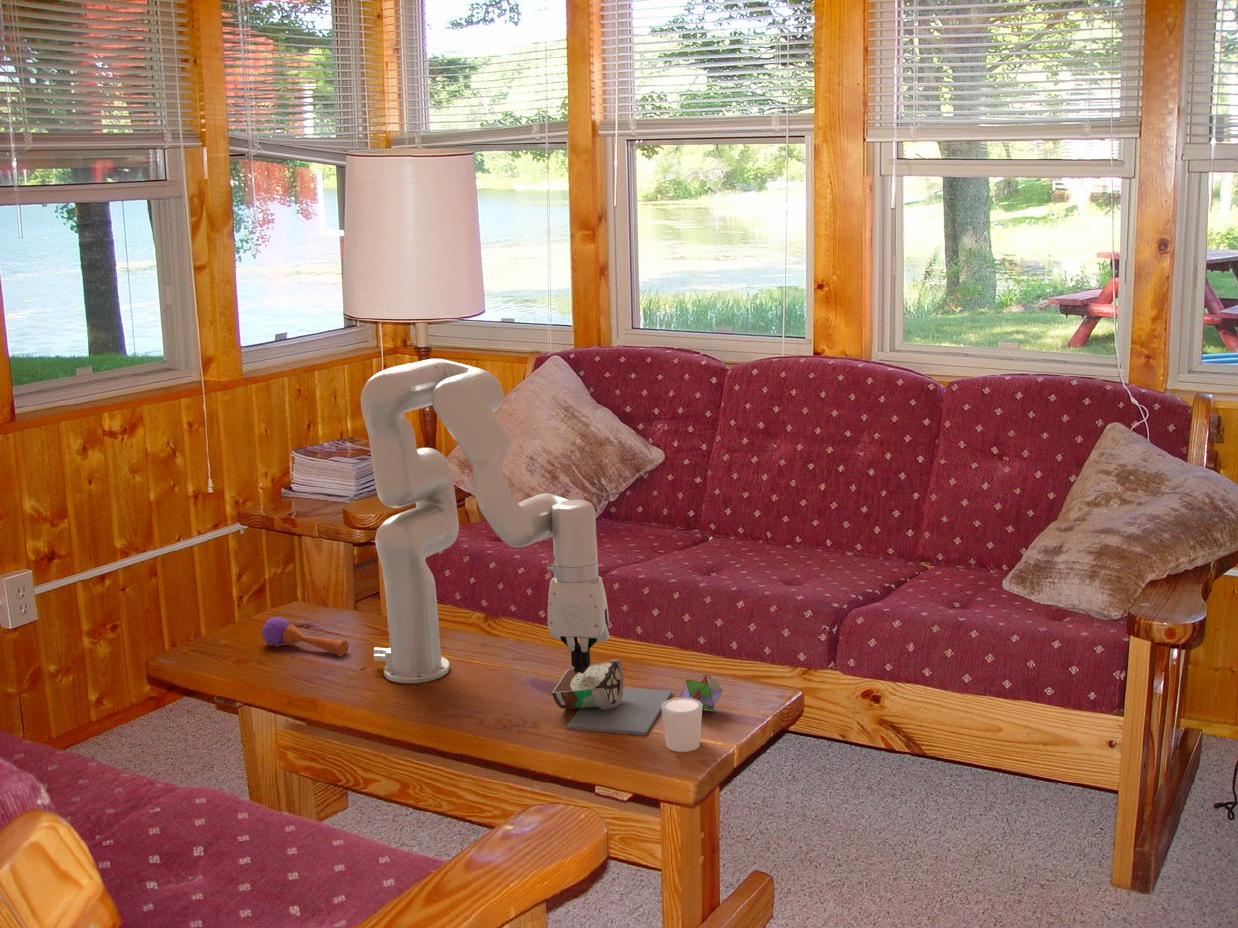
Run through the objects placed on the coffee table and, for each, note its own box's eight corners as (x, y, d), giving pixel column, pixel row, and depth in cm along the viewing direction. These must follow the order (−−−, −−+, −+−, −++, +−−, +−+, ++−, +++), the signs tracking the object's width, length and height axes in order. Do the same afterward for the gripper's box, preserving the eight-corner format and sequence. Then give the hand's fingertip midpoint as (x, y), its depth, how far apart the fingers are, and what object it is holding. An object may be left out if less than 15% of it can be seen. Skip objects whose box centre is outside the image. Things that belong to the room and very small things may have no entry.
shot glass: (668, 733, 224) (666, 695, 223) (708, 737, 222) (706, 698, 221) (657, 751, 218) (656, 711, 216) (698, 755, 216) (697, 715, 214)
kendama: (331, 643, 263) (254, 623, 271) (336, 668, 265) (258, 648, 274) (350, 628, 268) (273, 609, 276) (354, 653, 270) (277, 633, 279)
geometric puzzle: (705, 715, 226) (716, 670, 228) (669, 709, 229) (680, 664, 232) (720, 726, 232) (730, 682, 234) (684, 719, 235) (695, 676, 237)
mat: (567, 728, 228) (566, 725, 228) (598, 688, 245) (598, 685, 245) (645, 735, 224) (645, 732, 224) (671, 693, 241) (671, 690, 241)
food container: (558, 728, 232) (611, 721, 229) (549, 696, 231) (602, 689, 227) (579, 695, 243) (630, 689, 240) (570, 665, 242) (621, 658, 239)
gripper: (528, 575, 229) (534, 675, 233) (611, 580, 225) (615, 681, 229) (543, 562, 236) (548, 659, 240) (623, 566, 232) (627, 665, 236)
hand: (581, 670), depth 235 cm, fingers closed
